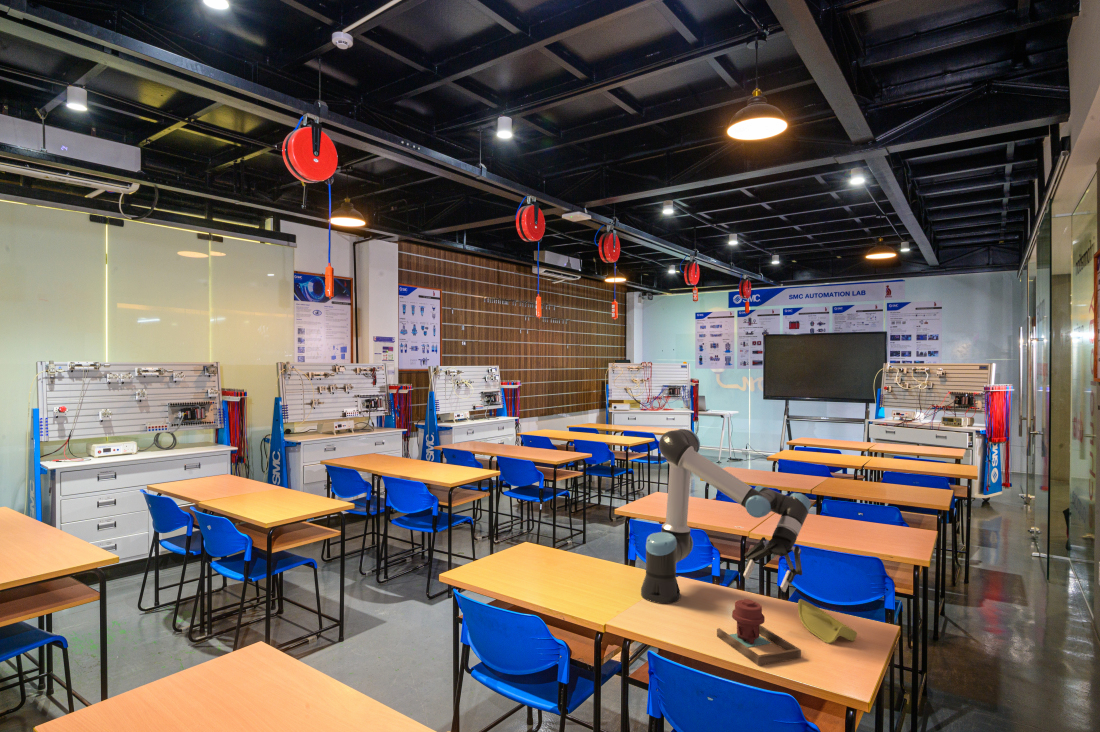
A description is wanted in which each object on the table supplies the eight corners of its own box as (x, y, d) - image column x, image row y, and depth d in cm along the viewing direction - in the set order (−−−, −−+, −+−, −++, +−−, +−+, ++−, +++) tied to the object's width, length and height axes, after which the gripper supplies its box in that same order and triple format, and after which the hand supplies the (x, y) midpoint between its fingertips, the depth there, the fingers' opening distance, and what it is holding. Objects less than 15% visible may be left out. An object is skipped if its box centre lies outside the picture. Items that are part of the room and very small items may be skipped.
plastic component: (860, 634, 182) (839, 624, 179) (851, 655, 181) (829, 645, 179) (816, 606, 201) (796, 596, 198) (808, 625, 200) (787, 615, 198)
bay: (716, 636, 183) (717, 628, 183) (756, 630, 189) (756, 622, 189) (758, 665, 164) (758, 657, 164) (801, 658, 170) (801, 649, 170)
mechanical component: (762, 649, 174) (729, 642, 179) (765, 636, 183) (734, 630, 188) (762, 609, 175) (729, 603, 179) (766, 599, 184) (734, 593, 188)
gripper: (825, 547, 190) (803, 601, 180) (758, 530, 209) (735, 578, 199) (818, 533, 187) (795, 588, 177) (750, 518, 206) (727, 566, 196)
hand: (763, 583), depth 188 cm, fingers open, 13 cm apart
